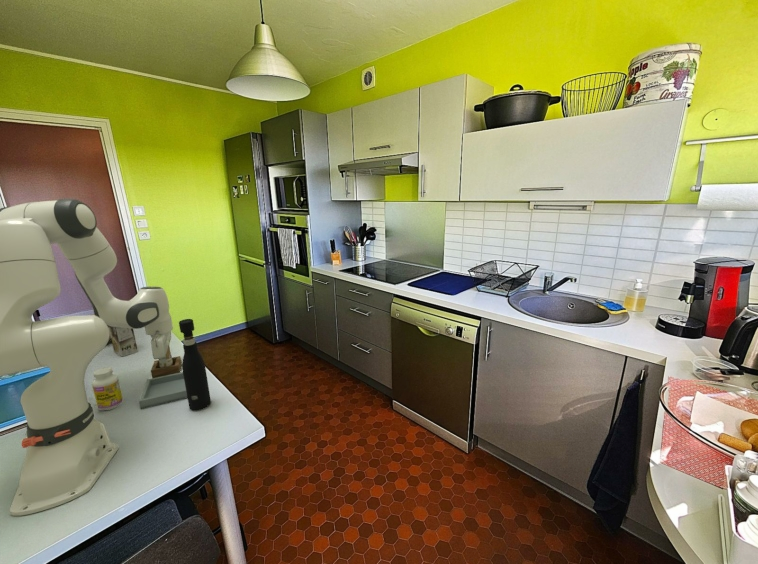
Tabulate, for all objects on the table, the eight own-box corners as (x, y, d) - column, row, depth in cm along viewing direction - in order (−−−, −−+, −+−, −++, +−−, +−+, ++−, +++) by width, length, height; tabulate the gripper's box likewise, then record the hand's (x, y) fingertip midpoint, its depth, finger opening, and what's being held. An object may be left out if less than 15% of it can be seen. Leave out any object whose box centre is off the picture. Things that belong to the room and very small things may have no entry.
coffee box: (138, 351, 147) (131, 318, 143) (122, 357, 142) (114, 322, 138) (130, 346, 152) (122, 314, 148) (113, 352, 147) (105, 319, 143)
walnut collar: (179, 374, 127) (178, 365, 126) (152, 380, 123) (150, 371, 122) (181, 364, 135) (180, 356, 134) (156, 369, 131) (154, 360, 130)
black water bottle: (207, 397, 112) (194, 315, 105) (213, 405, 108) (200, 320, 100) (186, 405, 108) (171, 321, 100) (192, 413, 103) (176, 326, 96)
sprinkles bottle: (174, 373, 128) (168, 341, 125) (161, 376, 126) (154, 344, 122) (174, 368, 132) (168, 337, 129) (161, 371, 129) (154, 340, 126)
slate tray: (192, 396, 112) (191, 389, 112) (140, 409, 106) (139, 401, 105) (195, 376, 125) (194, 369, 125) (148, 386, 119) (147, 379, 118)
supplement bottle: (95, 413, 104) (85, 378, 101) (101, 402, 110) (93, 368, 107) (120, 407, 107) (112, 373, 104) (125, 397, 113) (118, 364, 109)
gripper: (165, 334, 116) (171, 369, 120) (171, 317, 134) (177, 347, 138) (143, 338, 114) (151, 373, 117) (153, 320, 131) (159, 351, 135)
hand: (165, 359), depth 127 cm, fingers closed on sprinkles bottle, 4 cm apart
